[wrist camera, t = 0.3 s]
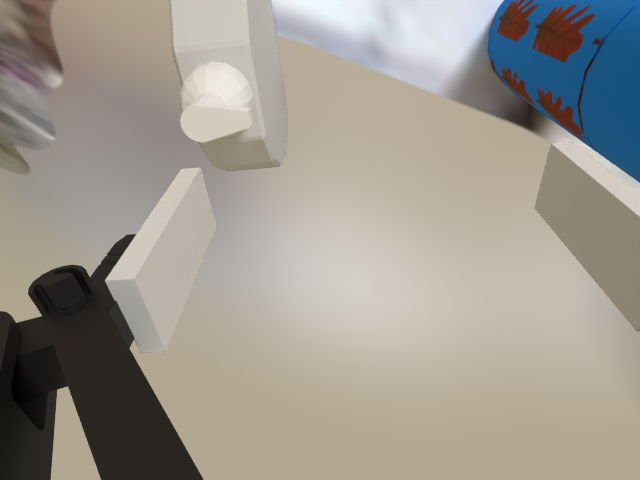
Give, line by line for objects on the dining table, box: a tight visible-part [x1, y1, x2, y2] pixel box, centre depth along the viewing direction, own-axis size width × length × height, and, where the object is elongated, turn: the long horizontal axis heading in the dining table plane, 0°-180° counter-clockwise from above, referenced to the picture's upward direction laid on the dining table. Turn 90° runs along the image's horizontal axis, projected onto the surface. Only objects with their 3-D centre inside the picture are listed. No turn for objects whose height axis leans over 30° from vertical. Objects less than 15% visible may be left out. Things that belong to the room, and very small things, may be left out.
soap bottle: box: [169, 0, 287, 171], centre depth 31 cm, size 16×5×20 cm, turn 6°
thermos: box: [488, 0, 640, 182], centre depth 27 cm, size 11×11×25 cm
